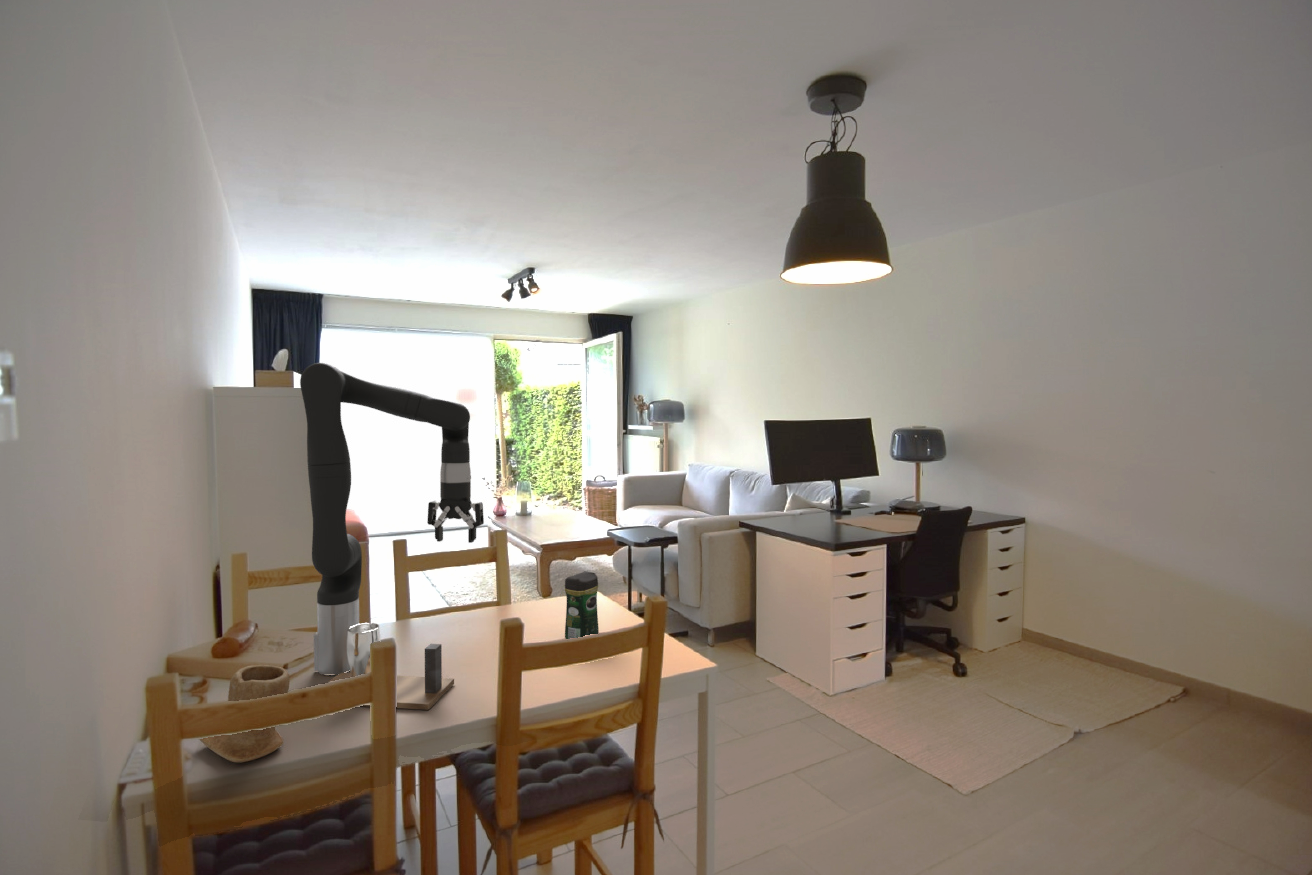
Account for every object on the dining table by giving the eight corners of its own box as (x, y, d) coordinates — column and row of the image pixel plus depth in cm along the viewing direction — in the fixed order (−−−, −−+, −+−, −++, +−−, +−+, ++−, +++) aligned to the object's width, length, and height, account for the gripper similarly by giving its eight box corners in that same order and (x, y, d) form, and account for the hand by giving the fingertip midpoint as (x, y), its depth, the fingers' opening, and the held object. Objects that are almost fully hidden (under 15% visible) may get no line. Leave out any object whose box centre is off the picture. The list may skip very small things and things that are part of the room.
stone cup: (302, 745, 120) (301, 668, 120) (232, 774, 110) (230, 691, 110) (265, 722, 129) (263, 650, 128) (197, 748, 119) (195, 670, 118)
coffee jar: (581, 630, 184) (581, 567, 184) (602, 635, 180) (603, 571, 179) (559, 640, 176) (559, 575, 175) (581, 646, 172) (581, 579, 171)
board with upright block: (305, 702, 137) (305, 651, 137) (341, 677, 150) (340, 631, 149) (428, 709, 134) (428, 658, 134) (454, 683, 147) (453, 636, 147)
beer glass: (387, 688, 145) (387, 624, 144) (364, 701, 138) (363, 634, 138) (364, 684, 147) (363, 620, 147) (340, 696, 141) (339, 630, 140)
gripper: (422, 480, 160) (422, 543, 161) (476, 482, 159) (476, 545, 160) (435, 477, 168) (435, 537, 169) (487, 478, 166) (487, 539, 167)
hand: (455, 541), depth 164 cm, fingers open, 8 cm apart
